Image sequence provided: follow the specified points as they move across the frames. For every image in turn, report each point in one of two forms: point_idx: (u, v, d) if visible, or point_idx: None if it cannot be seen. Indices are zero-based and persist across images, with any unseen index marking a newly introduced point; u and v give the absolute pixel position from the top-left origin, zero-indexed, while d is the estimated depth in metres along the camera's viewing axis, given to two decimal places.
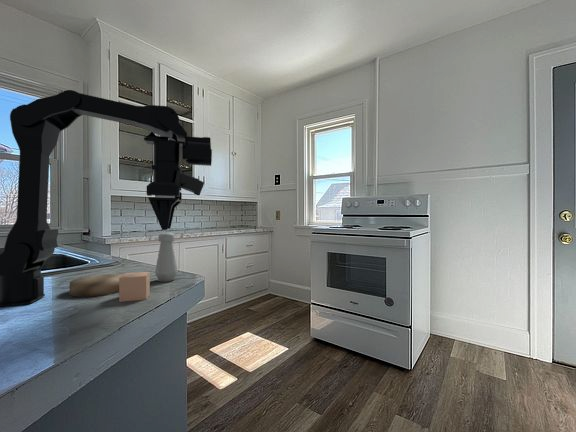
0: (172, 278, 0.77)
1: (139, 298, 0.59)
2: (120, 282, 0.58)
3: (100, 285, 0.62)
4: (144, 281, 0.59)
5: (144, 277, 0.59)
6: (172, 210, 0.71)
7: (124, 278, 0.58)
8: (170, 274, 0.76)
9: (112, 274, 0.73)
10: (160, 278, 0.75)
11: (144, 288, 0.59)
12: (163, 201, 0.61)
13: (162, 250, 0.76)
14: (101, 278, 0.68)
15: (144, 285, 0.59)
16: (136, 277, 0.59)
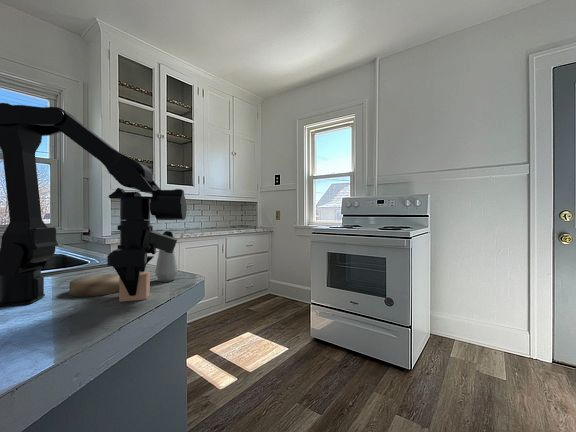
0: (172, 278, 0.77)
1: (139, 298, 0.59)
2: (120, 282, 0.58)
3: (100, 285, 0.62)
4: (144, 281, 0.59)
5: (144, 277, 0.59)
6: (142, 268, 0.64)
7: None
8: (170, 274, 0.76)
9: (112, 274, 0.73)
10: (160, 278, 0.75)
11: (144, 288, 0.59)
12: (130, 266, 0.57)
13: (162, 250, 0.76)
14: (101, 278, 0.68)
15: (144, 285, 0.59)
16: None
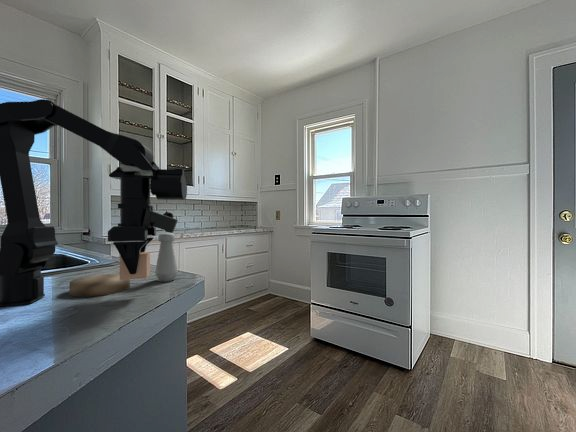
0: (172, 278, 0.77)
1: (139, 276, 0.59)
2: (120, 260, 0.58)
3: (100, 285, 0.62)
4: (144, 259, 0.59)
5: (144, 255, 0.59)
6: (142, 249, 0.64)
7: None
8: (170, 274, 0.76)
9: (112, 274, 0.73)
10: (160, 278, 0.75)
11: (144, 266, 0.59)
12: (131, 244, 0.57)
13: (162, 250, 0.76)
14: (101, 278, 0.68)
15: (144, 263, 0.59)
16: None
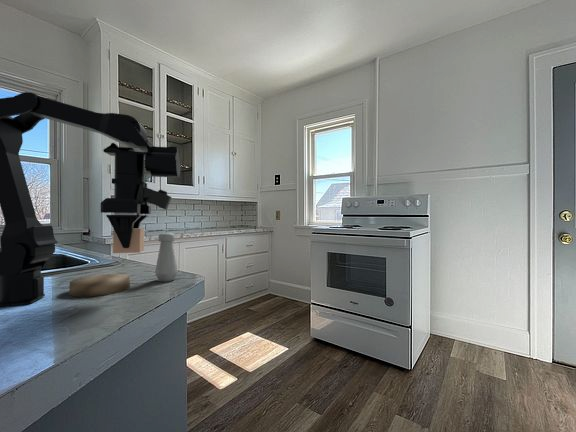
0: (172, 278, 0.77)
1: (133, 250, 0.60)
2: (114, 234, 0.59)
3: (100, 285, 0.62)
4: (138, 234, 0.60)
5: (138, 230, 0.60)
6: (136, 225, 0.65)
7: None
8: (170, 274, 0.76)
9: (112, 274, 0.73)
10: (160, 278, 0.75)
11: (138, 241, 0.60)
12: (124, 218, 0.58)
13: (162, 250, 0.76)
14: (101, 278, 0.68)
15: (138, 238, 0.60)
16: None
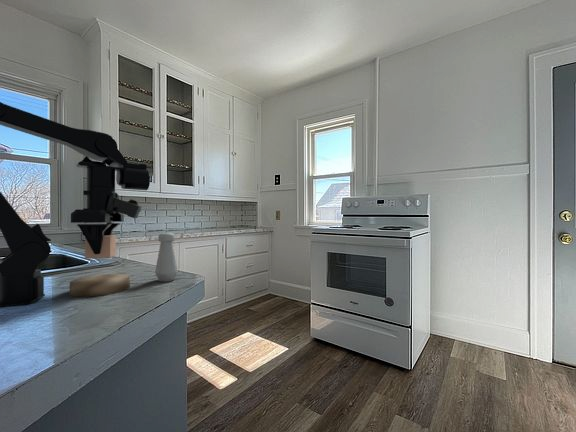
0: (172, 278, 0.77)
1: (103, 256, 0.65)
2: (86, 241, 0.64)
3: (100, 285, 0.62)
4: (108, 241, 0.66)
5: (108, 237, 0.66)
6: (109, 233, 0.71)
7: None
8: (170, 274, 0.76)
9: (112, 274, 0.73)
10: (160, 278, 0.75)
11: (108, 247, 0.66)
12: (94, 227, 0.64)
13: (162, 250, 0.76)
14: (101, 278, 0.68)
15: (108, 245, 0.66)
16: None
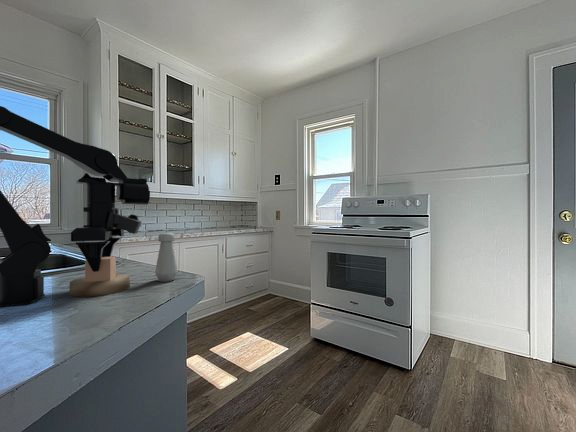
0: (172, 278, 0.77)
1: (103, 279, 0.65)
2: (86, 264, 0.64)
3: (100, 285, 0.62)
4: (108, 264, 0.66)
5: (108, 260, 0.66)
6: (110, 247, 0.72)
7: None
8: (170, 274, 0.76)
9: None
10: (160, 278, 0.75)
11: (108, 270, 0.66)
12: (93, 244, 0.63)
13: (162, 250, 0.76)
14: None
15: (108, 267, 0.66)
16: (101, 260, 0.65)
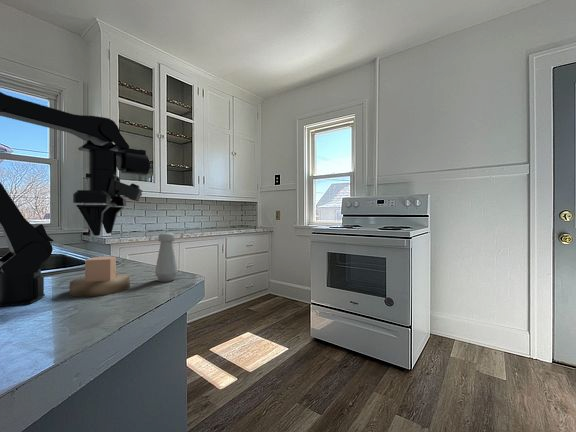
0: (172, 278, 0.77)
1: (103, 279, 0.65)
2: (86, 264, 0.64)
3: (100, 285, 0.62)
4: (108, 264, 0.66)
5: (108, 260, 0.66)
6: (113, 216, 0.74)
7: (90, 261, 0.65)
8: (170, 274, 0.76)
9: None
10: (160, 278, 0.75)
11: (108, 270, 0.66)
12: (94, 208, 0.64)
13: (162, 250, 0.76)
14: None
15: (108, 267, 0.66)
16: (101, 260, 0.65)
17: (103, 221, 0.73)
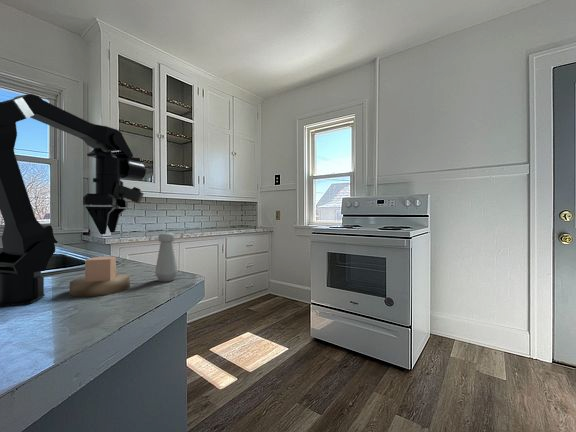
0: (172, 278, 0.77)
1: (103, 279, 0.65)
2: (86, 264, 0.64)
3: (100, 285, 0.62)
4: (108, 264, 0.66)
5: (108, 260, 0.66)
6: (116, 216, 0.82)
7: (90, 261, 0.65)
8: (170, 274, 0.76)
9: None
10: (160, 278, 0.75)
11: (108, 270, 0.66)
12: (100, 209, 0.71)
13: (162, 250, 0.76)
14: None
15: (108, 267, 0.66)
16: (101, 260, 0.65)
17: (107, 221, 0.81)
